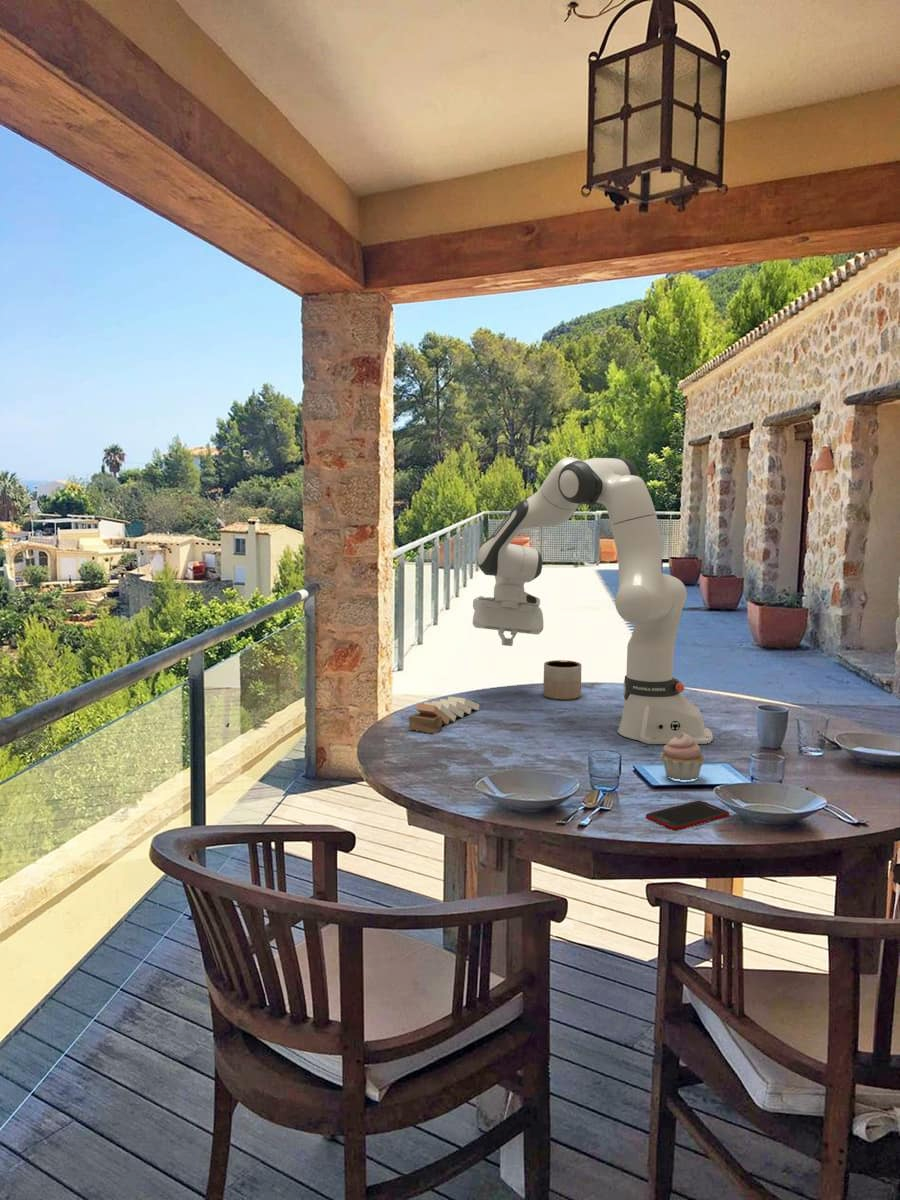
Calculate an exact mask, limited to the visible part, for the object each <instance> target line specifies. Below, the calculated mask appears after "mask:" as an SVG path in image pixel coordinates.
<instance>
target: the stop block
mask: <svg viewBox="0 0 900 1200" xmlns="http://www.w3.org/2000/svg"><path fill="white" fill-rule="evenodd" d="M442 726H443V724H442V716H435V715H428V714H422V713H420V712H416V713H414V714H411V715H409V716H408V730H409V729H411V730H417V731H416V732H418V731H422V732H421V733H424V732H428V733H427V734H430V733H433V734H432V735H434V733H435V734H437V733H439V732H441V731H442V730H443V729H442ZM411 730H410V731H411ZM438 731H439V732H438ZM436 732H437V733H436Z"/></svg>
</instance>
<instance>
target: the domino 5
mask: <svg viewBox="0 0 900 1200" xmlns="http://www.w3.org/2000/svg"><path fill="white" fill-rule="evenodd" d="M447 700H454V701H458V702H460V703H462V704H464V705H466V706H468V707H470V708H472V709H471V711H473V710H474V711H479V709H480V704H479V703H477V702H474V701H472V700H469V699H467V698H463V697H455V696H448V698H447Z"/></svg>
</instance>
